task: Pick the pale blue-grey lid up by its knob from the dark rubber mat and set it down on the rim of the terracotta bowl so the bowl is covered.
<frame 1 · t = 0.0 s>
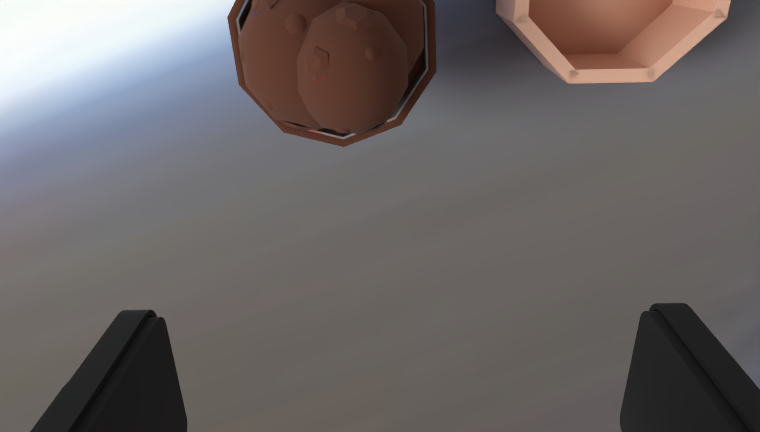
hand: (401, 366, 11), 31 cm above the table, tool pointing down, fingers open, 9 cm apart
ice cream bowl: (345, 23, 39), on the table
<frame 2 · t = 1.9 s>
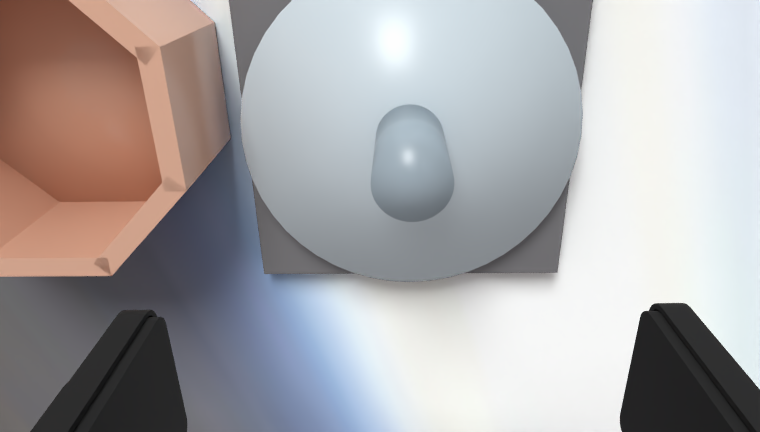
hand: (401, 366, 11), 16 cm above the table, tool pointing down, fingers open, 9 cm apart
lid: (409, 131, 24), point 1 cm above the table, touching mat
bowl: (86, 85, 25), on the table
mat: (408, 125, 25), on the table
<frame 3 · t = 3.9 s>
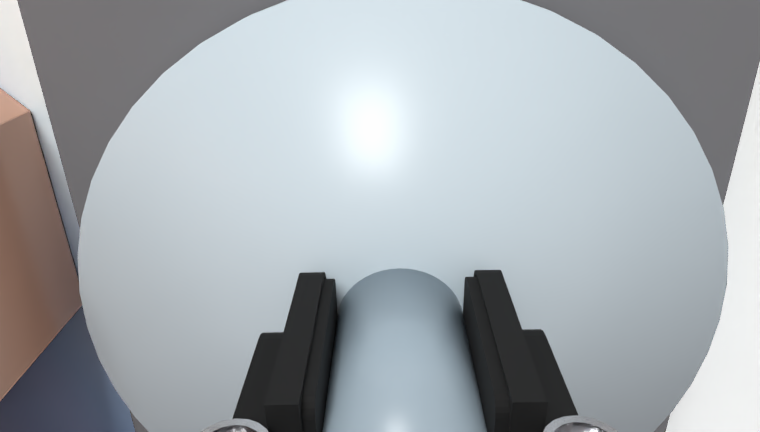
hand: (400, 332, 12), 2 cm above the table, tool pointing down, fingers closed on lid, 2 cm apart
lid: (399, 302, 13), point 1 cm above the table, touching gripper, mat
mat: (396, 280, 14), on the table
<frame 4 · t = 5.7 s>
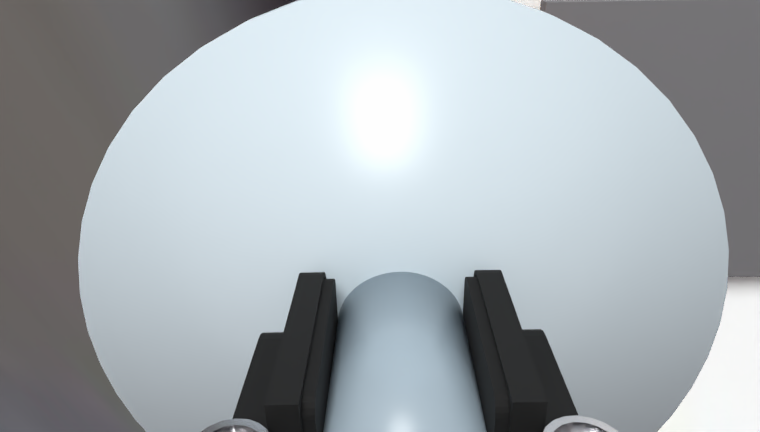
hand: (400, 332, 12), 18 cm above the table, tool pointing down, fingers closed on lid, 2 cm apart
lid: (399, 305, 13), point 17 cm above the table, touching gripper
mat: (666, 146, 29), on the table
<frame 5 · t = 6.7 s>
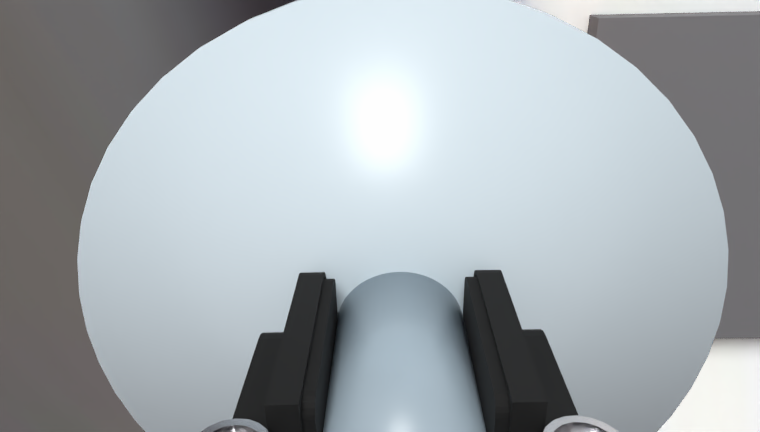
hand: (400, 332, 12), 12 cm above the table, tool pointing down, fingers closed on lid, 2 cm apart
lid: (399, 305, 13), point 11 cm above the table, touching gripper
mat: (736, 187, 24), on the table
when the fingers open (9 cm above the table, at t = 7.5 s): lid drops 2 cm, resting on bowl.
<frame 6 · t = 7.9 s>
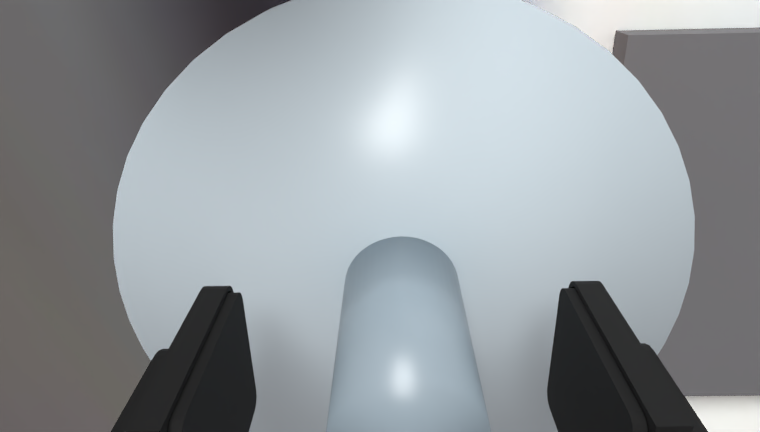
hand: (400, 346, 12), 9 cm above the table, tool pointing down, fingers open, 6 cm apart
lid: (400, 270, 15), point 6 cm above the table, touching bowl
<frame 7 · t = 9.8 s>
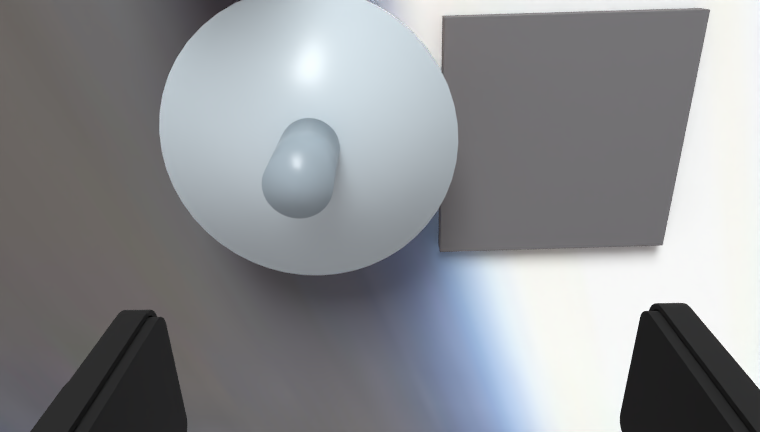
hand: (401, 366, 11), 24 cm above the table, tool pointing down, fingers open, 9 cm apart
lid: (311, 141, 28), point 6 cm above the table, touching bowl
mat: (558, 136, 34), on the table
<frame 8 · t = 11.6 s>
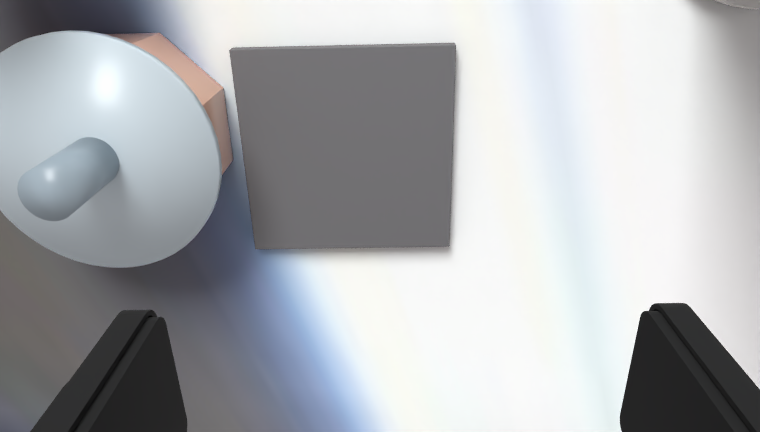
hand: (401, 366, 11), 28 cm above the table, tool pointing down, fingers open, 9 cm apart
lid: (100, 156, 33), point 6 cm above the table, touching bowl
bowl: (139, 126, 39), on the table
mat: (348, 150, 39), on the table
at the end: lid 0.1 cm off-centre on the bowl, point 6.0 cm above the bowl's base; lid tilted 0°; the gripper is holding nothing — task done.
